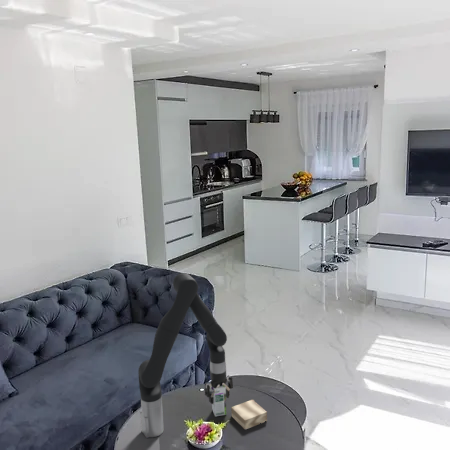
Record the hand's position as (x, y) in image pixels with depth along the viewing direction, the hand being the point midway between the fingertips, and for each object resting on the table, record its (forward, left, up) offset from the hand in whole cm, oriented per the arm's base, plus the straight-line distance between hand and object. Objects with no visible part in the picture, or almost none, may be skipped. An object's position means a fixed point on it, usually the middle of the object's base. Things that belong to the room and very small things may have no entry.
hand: (219, 400), depth 219 cm
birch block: (+9, -12, -7) cm, 16 cm away
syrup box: (0, 0, -7) cm, 7 cm away
